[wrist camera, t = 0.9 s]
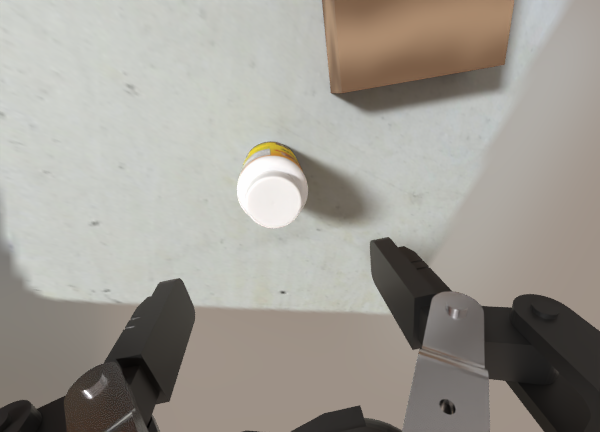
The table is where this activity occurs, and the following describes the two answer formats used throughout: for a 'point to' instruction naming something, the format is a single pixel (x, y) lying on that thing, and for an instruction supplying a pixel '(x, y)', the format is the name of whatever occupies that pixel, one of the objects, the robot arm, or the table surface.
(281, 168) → the supplement bottle
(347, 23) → the walnut plinth
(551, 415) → the robot arm
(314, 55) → the table surface
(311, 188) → the table surface
